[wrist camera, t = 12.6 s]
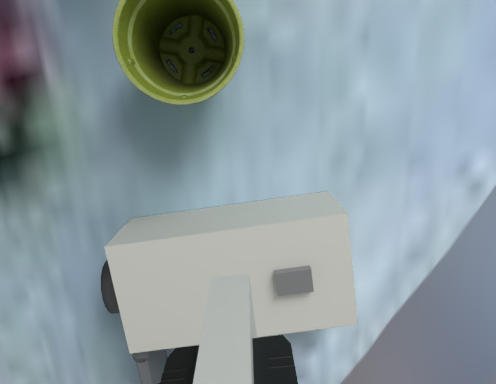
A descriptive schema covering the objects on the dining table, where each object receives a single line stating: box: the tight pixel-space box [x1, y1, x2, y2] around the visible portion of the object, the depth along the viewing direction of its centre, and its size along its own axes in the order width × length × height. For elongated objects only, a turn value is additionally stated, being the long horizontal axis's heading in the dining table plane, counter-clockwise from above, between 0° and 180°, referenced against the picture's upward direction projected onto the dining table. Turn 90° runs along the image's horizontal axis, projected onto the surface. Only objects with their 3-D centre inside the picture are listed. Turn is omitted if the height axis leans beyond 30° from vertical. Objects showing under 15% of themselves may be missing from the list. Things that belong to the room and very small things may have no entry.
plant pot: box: [113, 0, 244, 105], centre depth 34 cm, size 9×9×9 cm
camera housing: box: [101, 191, 358, 354], centre depth 39 cm, size 22×10×9 cm, turn 98°
